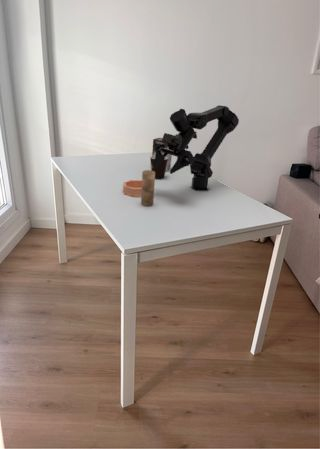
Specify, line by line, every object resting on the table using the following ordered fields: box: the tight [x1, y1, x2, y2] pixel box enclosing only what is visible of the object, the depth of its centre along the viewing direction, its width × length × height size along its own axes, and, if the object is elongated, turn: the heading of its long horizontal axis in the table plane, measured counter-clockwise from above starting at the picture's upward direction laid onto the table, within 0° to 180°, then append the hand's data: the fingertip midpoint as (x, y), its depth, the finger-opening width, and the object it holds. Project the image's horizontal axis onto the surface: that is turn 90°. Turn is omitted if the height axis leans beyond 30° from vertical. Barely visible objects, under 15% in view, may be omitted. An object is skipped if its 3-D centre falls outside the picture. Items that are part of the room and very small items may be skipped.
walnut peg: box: [140, 169, 156, 207], centre depth 124 cm, size 5×5×13 cm
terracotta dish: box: [122, 179, 142, 198], centre depth 138 cm, size 12×12×4 cm
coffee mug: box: [149, 155, 168, 180], centre depth 160 cm, size 12×9×10 cm
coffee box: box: [151, 137, 173, 173], centre depth 171 cm, size 9×6×16 cm
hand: (161, 170), depth 126 cm, fingers open, 9 cm apart
